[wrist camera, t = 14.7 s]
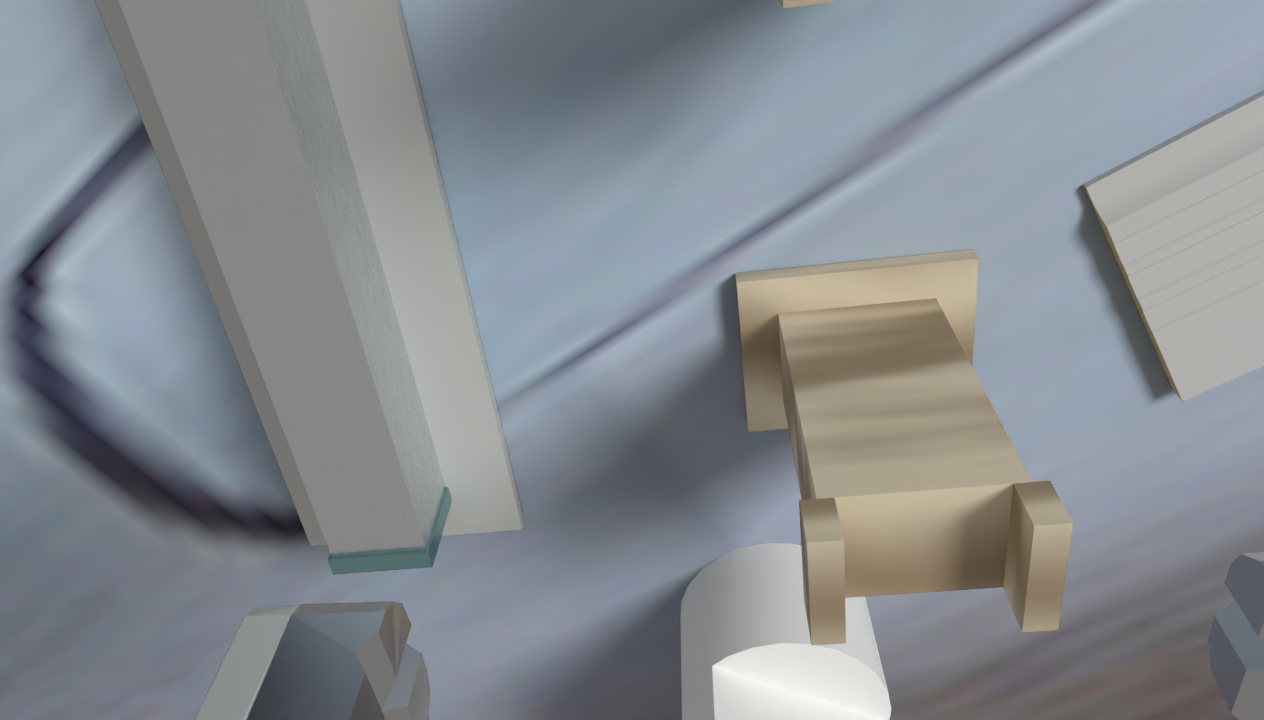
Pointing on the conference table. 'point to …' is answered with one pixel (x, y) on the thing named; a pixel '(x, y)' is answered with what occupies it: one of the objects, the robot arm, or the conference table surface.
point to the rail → (300, 265)
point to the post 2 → (895, 438)
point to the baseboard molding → (1194, 245)
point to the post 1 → (802, 2)
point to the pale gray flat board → (406, 242)
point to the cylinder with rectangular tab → (772, 646)
